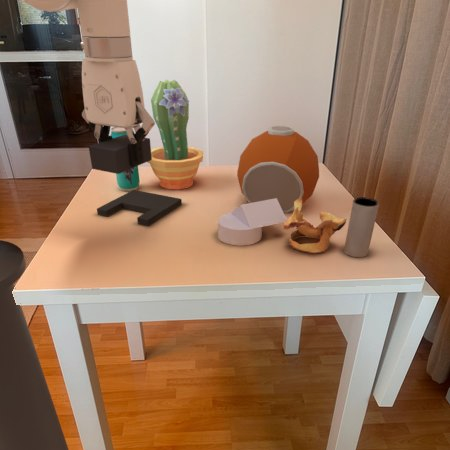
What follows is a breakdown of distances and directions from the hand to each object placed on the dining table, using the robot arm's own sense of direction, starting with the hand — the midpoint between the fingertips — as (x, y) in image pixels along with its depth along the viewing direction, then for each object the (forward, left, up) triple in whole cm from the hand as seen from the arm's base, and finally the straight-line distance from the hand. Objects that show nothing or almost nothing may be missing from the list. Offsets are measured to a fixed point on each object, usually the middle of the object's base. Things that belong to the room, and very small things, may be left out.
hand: (122, 161), depth 78 cm
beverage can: (-18, +23, -16) cm, 33 cm away
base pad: (-7, +13, -15) cm, 21 cm away
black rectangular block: (0, 0, -1) cm, 1 cm away
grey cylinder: (+43, +14, -16) cm, 48 cm away
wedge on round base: (+21, +12, -16) cm, 29 cm away
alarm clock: (+20, +31, -16) cm, 40 cm away
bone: (+34, +13, -16) cm, 40 cm away
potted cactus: (-9, +32, -16) cm, 37 cm away
